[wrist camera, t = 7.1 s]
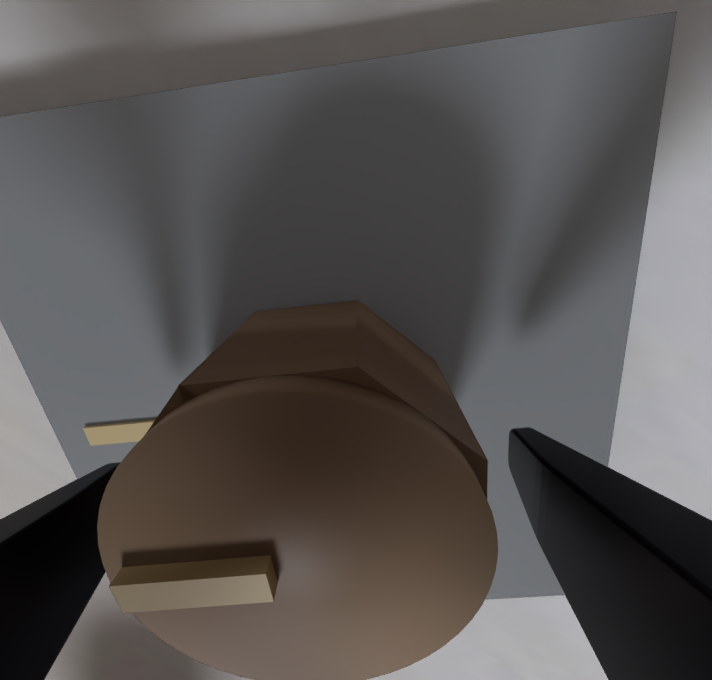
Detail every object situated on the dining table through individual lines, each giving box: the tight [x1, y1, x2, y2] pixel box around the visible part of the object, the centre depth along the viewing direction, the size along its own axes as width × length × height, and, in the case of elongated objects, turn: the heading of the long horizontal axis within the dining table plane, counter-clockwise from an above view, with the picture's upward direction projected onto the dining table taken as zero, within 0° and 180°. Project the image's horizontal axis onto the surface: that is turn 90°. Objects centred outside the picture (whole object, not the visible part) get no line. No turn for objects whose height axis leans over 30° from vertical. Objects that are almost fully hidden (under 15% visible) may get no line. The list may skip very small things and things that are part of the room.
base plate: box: [0, 12, 677, 599], centre depth 9 cm, size 16×16×4 cm
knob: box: [97, 300, 498, 680], centre depth 7 cm, size 6×6×5 cm
